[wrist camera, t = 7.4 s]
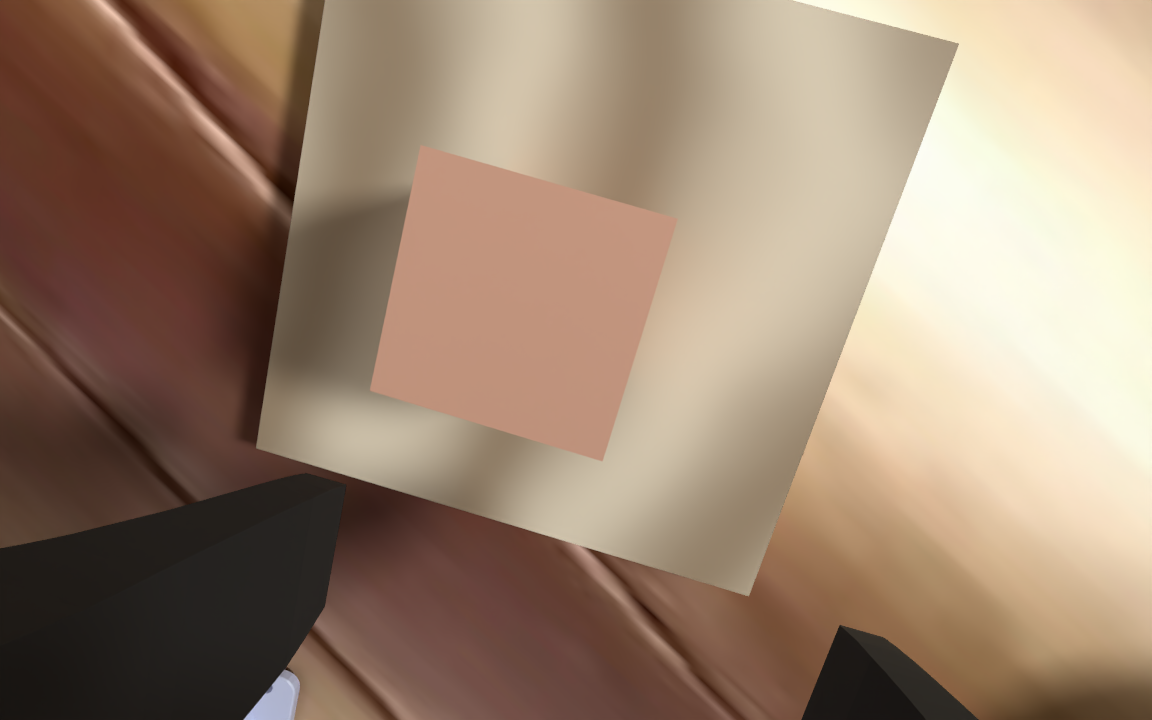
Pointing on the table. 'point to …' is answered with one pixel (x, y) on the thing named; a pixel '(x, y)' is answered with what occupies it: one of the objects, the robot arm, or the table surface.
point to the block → (518, 302)
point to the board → (628, 175)
